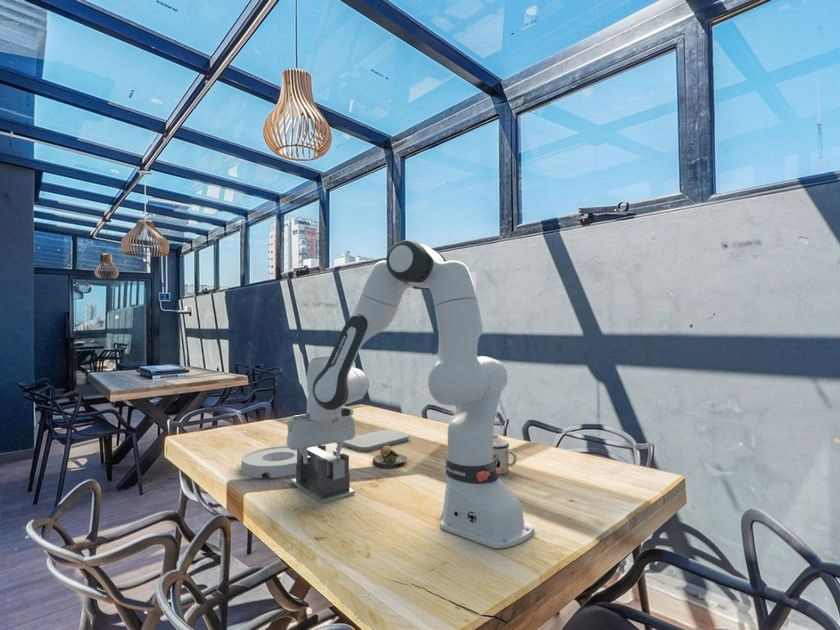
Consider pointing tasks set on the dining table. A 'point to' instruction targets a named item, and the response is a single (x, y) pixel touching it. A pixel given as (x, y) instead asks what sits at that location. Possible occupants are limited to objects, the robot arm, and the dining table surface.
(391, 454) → the burger
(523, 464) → the dining table surface
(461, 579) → the dining table surface
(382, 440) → the tablet
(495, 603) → the dining table surface
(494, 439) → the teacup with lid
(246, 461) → the ashtray
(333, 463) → the rail
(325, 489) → the bracket stand
